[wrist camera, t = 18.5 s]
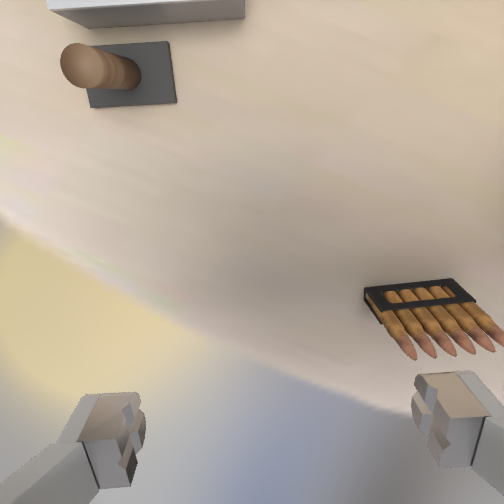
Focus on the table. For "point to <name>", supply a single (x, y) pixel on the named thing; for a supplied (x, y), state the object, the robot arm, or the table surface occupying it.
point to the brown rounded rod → (98, 68)
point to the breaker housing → (145, 11)
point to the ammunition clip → (432, 316)
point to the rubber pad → (152, 76)
